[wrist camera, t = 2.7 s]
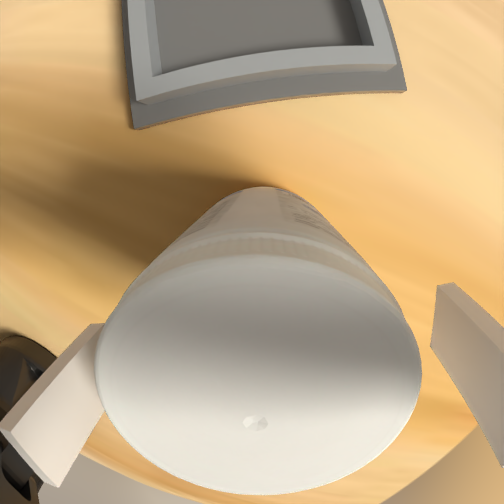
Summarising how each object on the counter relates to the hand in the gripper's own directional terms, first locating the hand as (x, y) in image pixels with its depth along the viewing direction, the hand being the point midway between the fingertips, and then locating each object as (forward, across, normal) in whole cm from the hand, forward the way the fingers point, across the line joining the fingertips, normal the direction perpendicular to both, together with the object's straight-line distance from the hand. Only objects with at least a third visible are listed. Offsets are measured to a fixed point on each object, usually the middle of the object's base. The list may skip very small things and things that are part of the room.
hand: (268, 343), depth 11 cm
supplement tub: (+11, -1, 0) cm, 11 cm away
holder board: (+11, +1, +19) cm, 22 cm away
